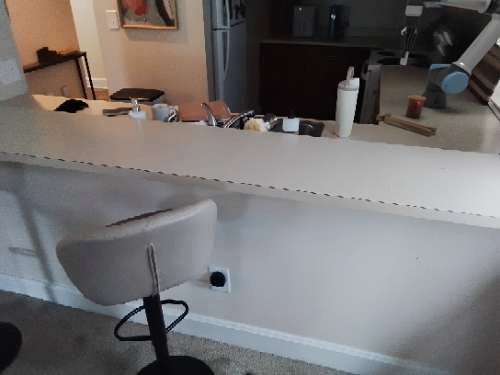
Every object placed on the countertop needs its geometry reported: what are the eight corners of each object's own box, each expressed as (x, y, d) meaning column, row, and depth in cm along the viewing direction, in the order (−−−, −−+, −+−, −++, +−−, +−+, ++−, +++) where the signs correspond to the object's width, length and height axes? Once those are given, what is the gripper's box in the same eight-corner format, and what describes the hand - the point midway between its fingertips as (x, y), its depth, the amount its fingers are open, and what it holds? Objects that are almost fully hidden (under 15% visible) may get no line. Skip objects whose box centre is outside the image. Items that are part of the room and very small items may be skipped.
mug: (402, 113, 205) (406, 94, 201) (419, 115, 204) (424, 96, 199) (406, 120, 195) (410, 100, 190) (424, 121, 194) (429, 101, 189)
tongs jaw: (391, 121, 192) (392, 115, 191) (435, 133, 177) (437, 127, 175) (388, 121, 191) (389, 116, 190) (432, 134, 175) (434, 128, 174)
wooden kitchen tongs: (382, 118, 197) (383, 112, 195) (434, 134, 176) (436, 127, 175) (376, 120, 194) (377, 113, 193) (428, 136, 174) (430, 129, 172)
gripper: (413, 14, 195) (404, 62, 206) (398, 15, 188) (389, 64, 199) (427, 15, 190) (416, 64, 201) (411, 16, 183) (401, 66, 194)
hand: (402, 64), depth 200 cm, fingers closed
